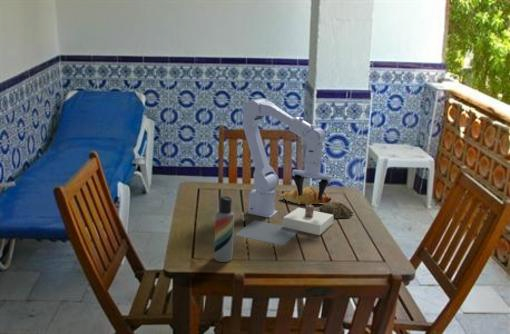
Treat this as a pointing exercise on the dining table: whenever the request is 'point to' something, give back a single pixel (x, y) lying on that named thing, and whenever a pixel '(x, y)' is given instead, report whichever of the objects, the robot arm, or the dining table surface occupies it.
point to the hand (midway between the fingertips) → (309, 197)
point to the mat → (267, 232)
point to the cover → (308, 220)
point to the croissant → (305, 197)
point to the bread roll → (336, 210)
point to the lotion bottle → (224, 230)
